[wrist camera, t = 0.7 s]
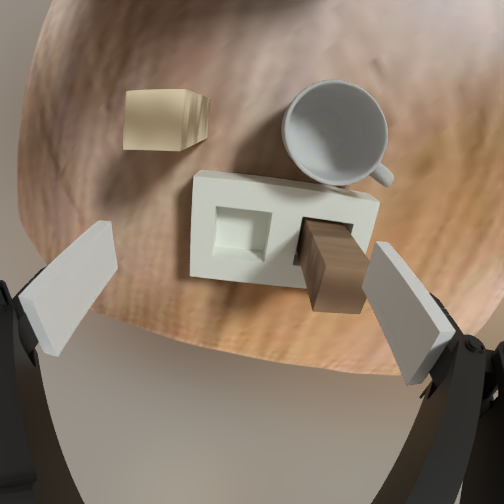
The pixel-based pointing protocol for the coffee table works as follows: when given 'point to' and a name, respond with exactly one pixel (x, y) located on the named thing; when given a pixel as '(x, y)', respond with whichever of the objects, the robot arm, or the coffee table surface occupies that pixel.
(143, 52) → the coffee table surface
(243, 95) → the coffee table surface
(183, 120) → the pin
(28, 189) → the coffee table surface
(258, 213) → the bore block
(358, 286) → the walnut pin
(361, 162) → the teacup
